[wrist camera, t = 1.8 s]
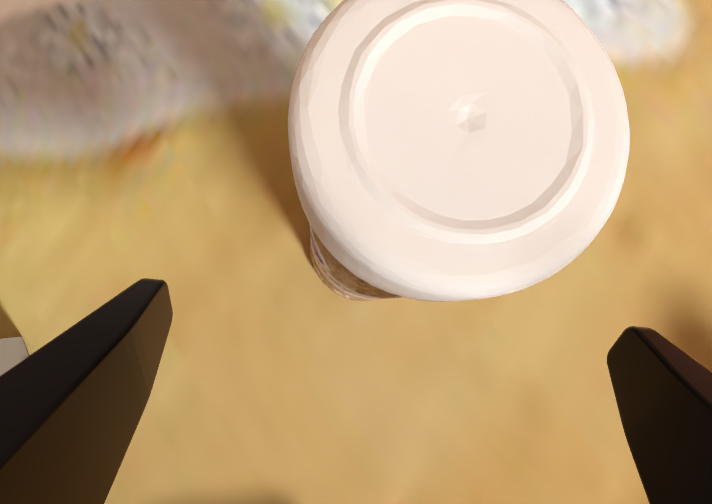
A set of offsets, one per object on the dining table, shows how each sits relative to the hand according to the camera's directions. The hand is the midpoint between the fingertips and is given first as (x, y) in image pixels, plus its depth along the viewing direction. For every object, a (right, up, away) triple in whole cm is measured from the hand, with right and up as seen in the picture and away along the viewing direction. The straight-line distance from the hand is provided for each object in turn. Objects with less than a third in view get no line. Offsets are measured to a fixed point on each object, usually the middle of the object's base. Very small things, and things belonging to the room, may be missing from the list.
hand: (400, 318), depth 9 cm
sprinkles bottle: (-1, +1, +10) cm, 10 cm away
